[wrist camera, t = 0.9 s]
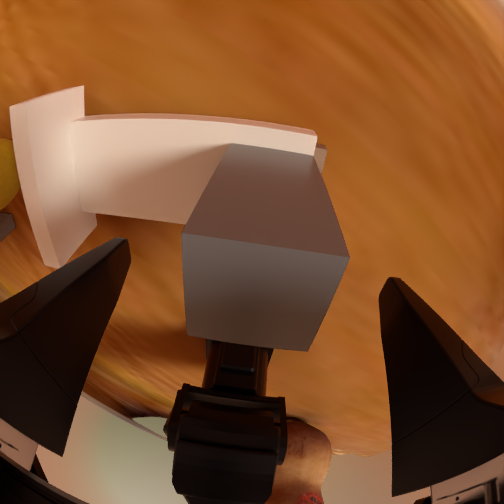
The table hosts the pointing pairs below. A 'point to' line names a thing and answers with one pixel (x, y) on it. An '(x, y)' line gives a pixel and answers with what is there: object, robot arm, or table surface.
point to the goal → (6, 225)
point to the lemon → (8, 173)
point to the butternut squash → (302, 466)
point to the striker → (192, 208)
